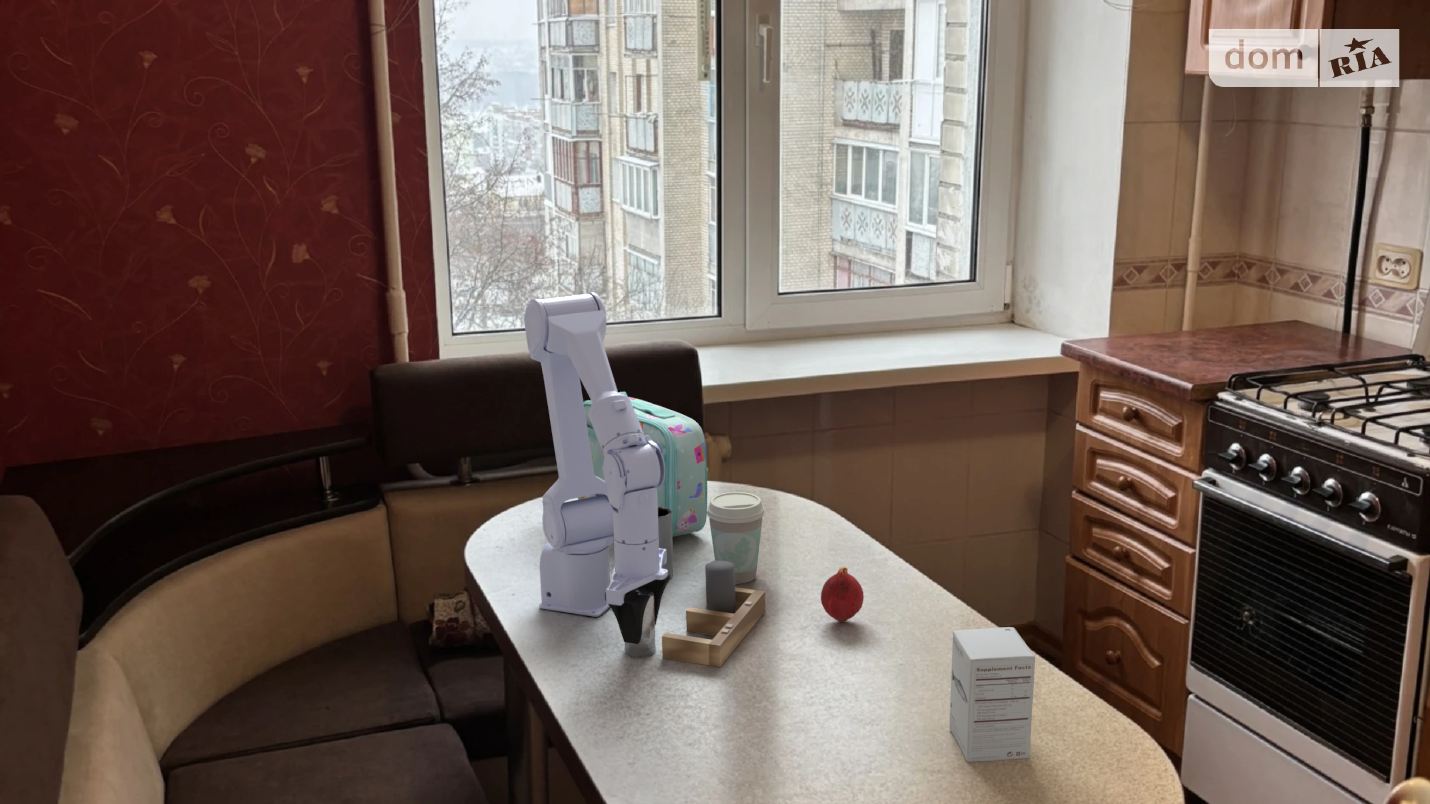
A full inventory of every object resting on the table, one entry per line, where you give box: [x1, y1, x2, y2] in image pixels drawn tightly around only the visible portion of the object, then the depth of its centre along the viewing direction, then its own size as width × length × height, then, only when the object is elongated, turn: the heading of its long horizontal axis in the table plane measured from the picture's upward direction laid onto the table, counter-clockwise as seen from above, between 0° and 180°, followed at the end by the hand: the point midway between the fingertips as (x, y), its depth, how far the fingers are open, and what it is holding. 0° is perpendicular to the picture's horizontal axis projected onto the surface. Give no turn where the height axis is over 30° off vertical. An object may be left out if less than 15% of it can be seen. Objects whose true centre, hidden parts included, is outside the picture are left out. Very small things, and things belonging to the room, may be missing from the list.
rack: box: [661, 586, 766, 668], centre depth 170 cm, size 8×18×3 cm, turn 159°
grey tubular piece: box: [658, 507, 674, 580], centre depth 188 cm, size 4×4×10 cm
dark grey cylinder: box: [704, 560, 737, 614], centre depth 173 cm, size 4×4×8 cm
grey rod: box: [624, 588, 656, 659], centre depth 165 cm, size 4×4×8 cm
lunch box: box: [577, 391, 708, 538], centre depth 208 cm, size 27×10×21 cm, turn 43°
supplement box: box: [948, 626, 1036, 763], centre depth 141 cm, size 7×7×13 cm
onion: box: [820, 565, 865, 623], centre depth 172 cm, size 6×6×8 cm
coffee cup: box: [707, 491, 766, 585], centre depth 187 cm, size 8×9×12 cm
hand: (639, 634), depth 165 cm, fingers open, 4 cm apart
